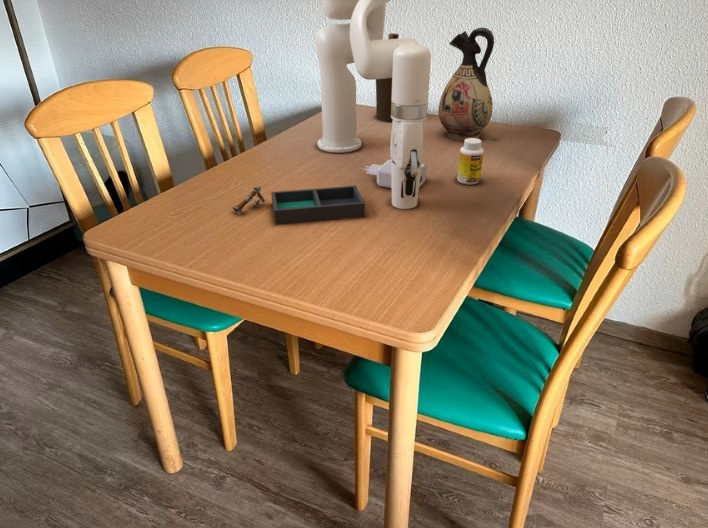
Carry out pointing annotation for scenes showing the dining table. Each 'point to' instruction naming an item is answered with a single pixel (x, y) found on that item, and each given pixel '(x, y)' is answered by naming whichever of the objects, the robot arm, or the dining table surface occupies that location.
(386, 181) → the charger
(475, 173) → the supplement bottle
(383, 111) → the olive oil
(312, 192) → the grey divided tray
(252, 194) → the wooden post with brackets
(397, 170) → the coffee cup
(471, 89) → the ceramic jug
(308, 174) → the dining table surface
